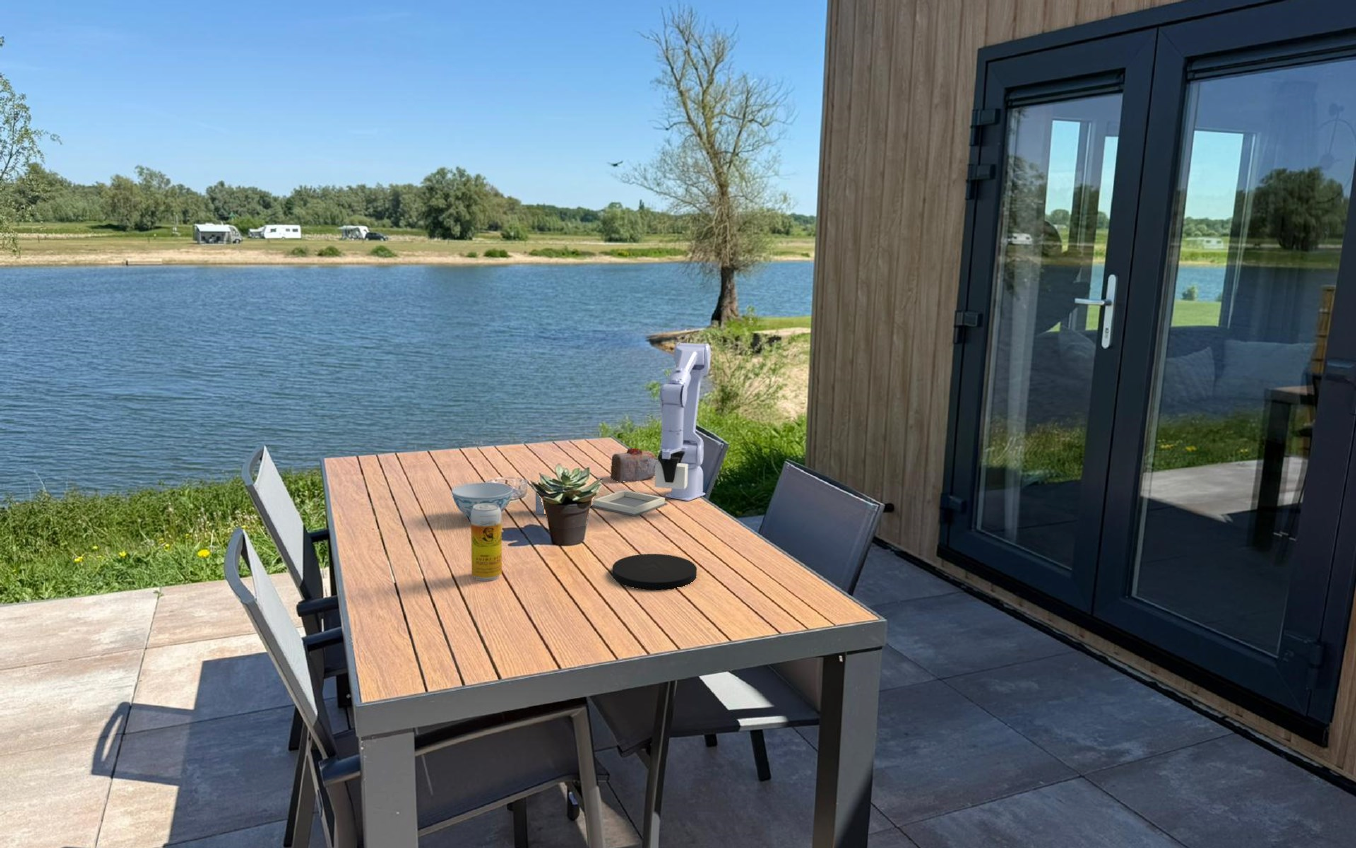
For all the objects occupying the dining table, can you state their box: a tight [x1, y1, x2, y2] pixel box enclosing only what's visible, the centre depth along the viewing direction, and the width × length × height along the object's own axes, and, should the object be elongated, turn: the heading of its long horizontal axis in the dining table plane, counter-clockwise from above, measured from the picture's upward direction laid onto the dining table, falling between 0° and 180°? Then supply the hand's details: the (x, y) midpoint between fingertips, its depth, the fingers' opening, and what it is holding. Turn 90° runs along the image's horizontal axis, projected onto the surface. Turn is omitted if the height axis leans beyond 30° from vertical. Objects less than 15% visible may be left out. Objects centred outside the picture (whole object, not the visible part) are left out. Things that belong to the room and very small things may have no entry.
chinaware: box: [451, 482, 514, 522], centre depth 218 cm, size 15×15×8 cm
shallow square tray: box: [591, 489, 668, 517], centre depth 235 cm, size 15×15×2 cm
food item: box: [609, 447, 659, 483], centre depth 264 cm, size 14×8×10 cm, turn 123°
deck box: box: [654, 461, 688, 489], centre depth 227 cm, size 4×8×6 cm, turn 78°
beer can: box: [470, 503, 503, 582], centre depth 177 cm, size 6×6×15 cm
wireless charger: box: [611, 553, 698, 591], centre depth 182 cm, size 18×18×2 cm
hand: (671, 480), depth 227 cm, fingers closed on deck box, 4 cm apart
